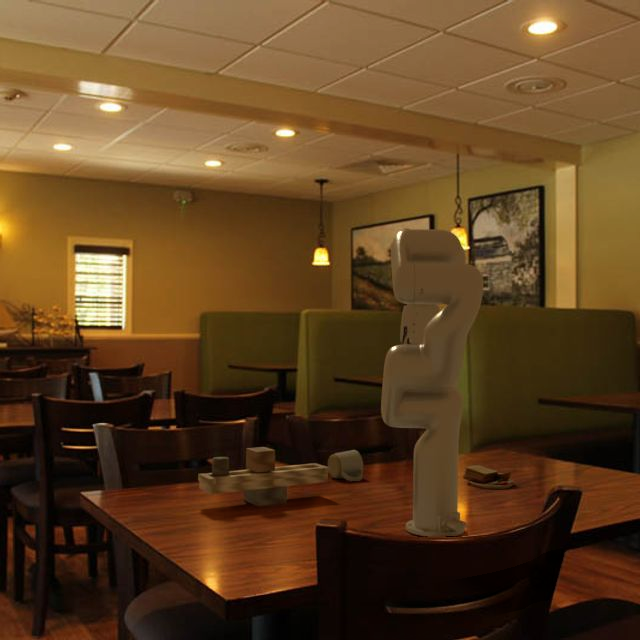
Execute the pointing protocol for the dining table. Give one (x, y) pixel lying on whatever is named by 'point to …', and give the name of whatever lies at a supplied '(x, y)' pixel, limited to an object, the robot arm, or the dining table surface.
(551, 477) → the dining table surface
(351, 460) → the ceramic mug
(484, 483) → the toy sandwich meal
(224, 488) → the beam
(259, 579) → the dining table surface
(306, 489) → the dining table surface
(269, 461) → the block
